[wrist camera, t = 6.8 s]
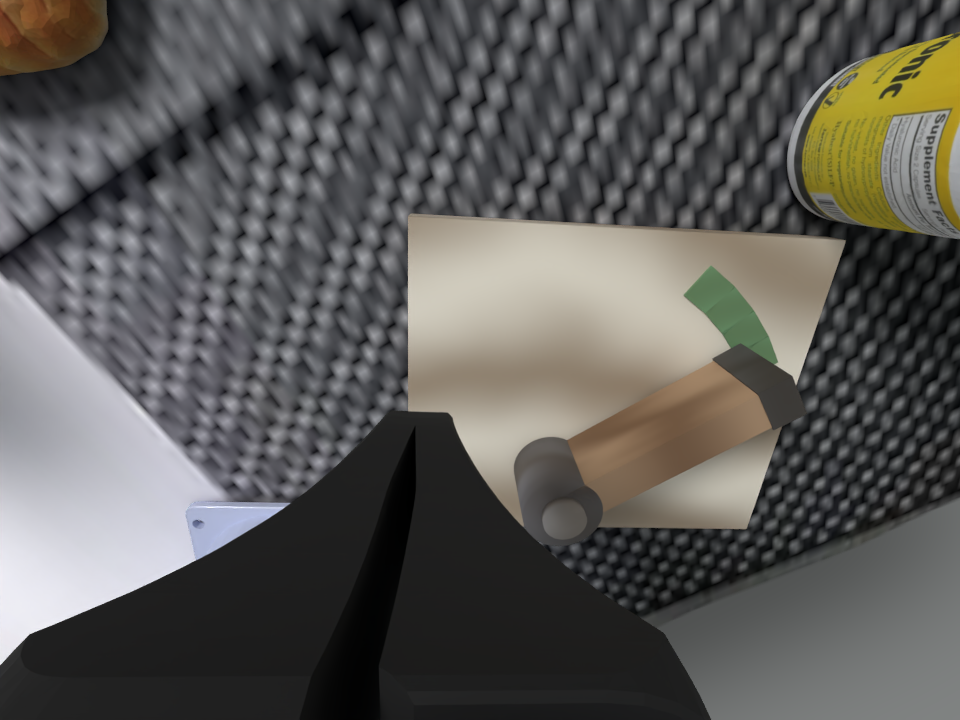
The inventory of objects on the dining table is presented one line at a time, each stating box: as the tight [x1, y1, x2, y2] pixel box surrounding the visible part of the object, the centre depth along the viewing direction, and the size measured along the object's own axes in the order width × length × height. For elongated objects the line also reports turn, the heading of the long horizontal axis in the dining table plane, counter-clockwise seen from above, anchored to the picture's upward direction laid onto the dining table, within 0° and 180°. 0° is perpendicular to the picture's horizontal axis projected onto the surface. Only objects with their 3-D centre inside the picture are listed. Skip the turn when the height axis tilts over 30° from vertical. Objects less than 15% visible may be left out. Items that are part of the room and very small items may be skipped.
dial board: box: [408, 214, 846, 529], centre depth 20 cm, size 14×16×1 cm
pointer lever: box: [514, 343, 807, 546], centre depth 18 cm, size 11×3×3 cm, turn 122°
